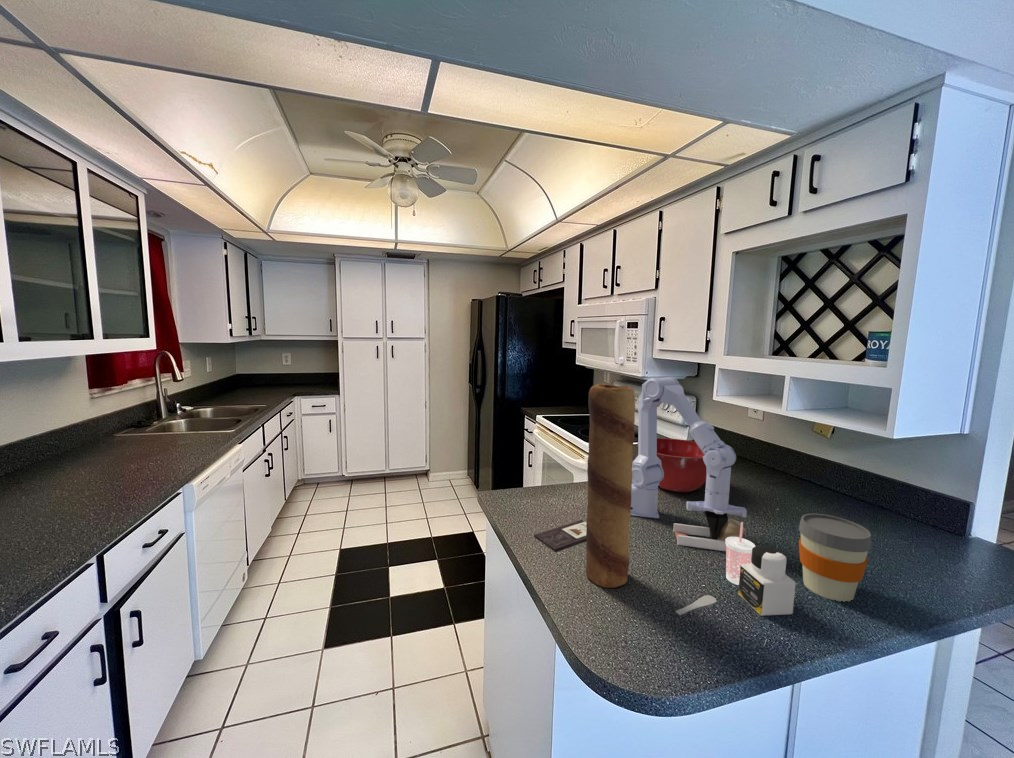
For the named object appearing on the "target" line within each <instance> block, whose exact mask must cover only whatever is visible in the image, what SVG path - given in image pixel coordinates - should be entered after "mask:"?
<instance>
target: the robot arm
mask: <svg viewBox="0 0 1014 758" xmlns="http://www.w3.org/2000/svg"><path fill="white" fill-rule="evenodd" d="M663 403H665V404H667V405H672V406H673V407H674V409H675V410H676V411H677V413H678V414H679V415H680V416H681V417H682V419H683V420H684V421H685V423H686V424H687V425H688V426H689V432H688V433H689V435H690V436H691V438H692V439H693V442H696V443H697V445H698V446H699V448H700V449H701V451H702V452H703V453H704V455H705V456H703V461H704V463H705V465H706V467H707V469H706V472H707V475H706V481H705V490H704V492H705V493H704V500H703V501H701V500H699V501H689V500H688V501H686V504H685V505H686V507H685V508H686V510H687V511H690V512H691V511H696V512H697V511H698V512H703V513H704V516H705V518H706V521H707V524H708V527H709V530H710V537H709V538H710V539H713V540H718V536H719V533H720V531H721V529H722V528H723V526H724V525H725V523H726V522H727V521H728V518H729V516H728V515H732V516H740V517H742V518H747V515H748V514H747V513H748V510H747V508H745V507H744V506H742V507H741V506H738V505H737V506H736V505H732V504H729V502H730V501H729V500H730V485H731V476H732V475H731V474H732V473H731V472H732V466H733V465H734V464H735V462H736V461H737V455H736V454H737V453H736V452H735V450H734V448H733V447H731V446H730V445H728V444H726V443H725V441H723V440H721V438H720V437H719V435H718V434H717V433H716V432H715V427H714V426H713V424H710V423H709V422H706V421H704V420H702V419H701V418H700V417H699V415H698V413H697V412H696V410H695V409H694V406H693V405H692V404H691V402H690V401H689V399H688V397H687V396H686V394H685V391H684V387H683V385H681V384H680V382H679V381H678V379H677V378H675V377H673V376H667V377H661V378H660V377H658V378H655V377H651V378H649V379H647V380H646V381H645V382H643V383H642V384H641V392H640V396H639V399H638V404H637V405H638V407H637V409H638V410H637V411H638V412H637V413H638V421H637V422H638V423H637V424H638V429H637V431H638V432H637V433H638V438H637V439H638V442H637V443H638V445H637V447H638V450H637V451H638V453H637V456H636V457H635V459H633V460H632V490H631V515H630V516H635V517H636V516H637V517H642V518H643V517H644V518H650V519H651V518H653V519H660V514H659V512H658V496H659V487H658V486H659V482H660V481H662V480H663V477H664V471H663V469H662V466H661V460H660V459H659V458H658V457H657V438H658V437H657V435H658V431H657V429H658V428H657V427H658V424H657V423H658V416H657V415H658V406H660V405H661V404H663Z"/></svg>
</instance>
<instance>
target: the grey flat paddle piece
mask: <svg viewBox="0 0 1014 758" xmlns="http://www.w3.org/2000/svg"><path fill="white" fill-rule="evenodd" d="M717 602H718V600H717V599H716V598H715V597H714V596H712V595H709V594H706V595H704V596H701V597H700V598H698V599H697V600H695V601H693V602H692V603H691V604H689V605H686V606H685V607H682V608H680V609H677V610H675V613H676V614H678V615H679V616H682V615H685V614H687V613H688V612H691V611H694V610H697V609H698V608H699V609H700V608H703V607H706V606H707V607H708V606H711V605H714V604H716V603H717Z"/></svg>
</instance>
